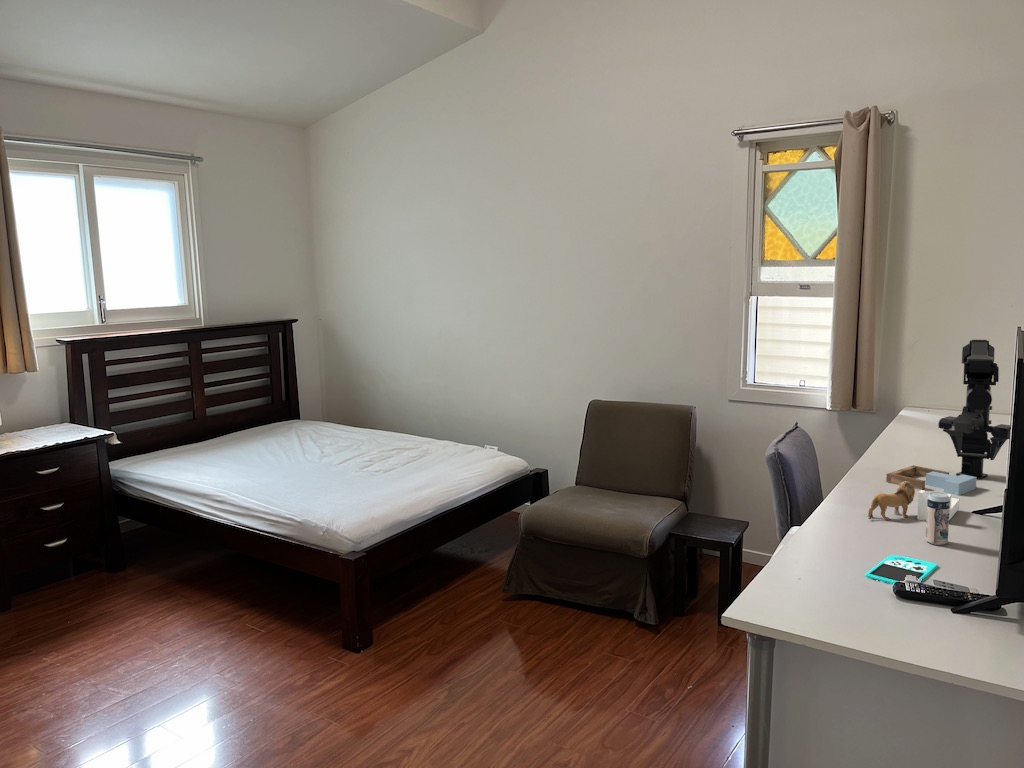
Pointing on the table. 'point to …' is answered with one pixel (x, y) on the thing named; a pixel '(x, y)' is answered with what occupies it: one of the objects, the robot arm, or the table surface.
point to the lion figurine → (894, 500)
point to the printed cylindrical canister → (937, 518)
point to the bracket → (923, 505)
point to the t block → (951, 482)
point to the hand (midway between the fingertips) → (975, 456)
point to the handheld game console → (900, 569)
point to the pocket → (905, 475)
